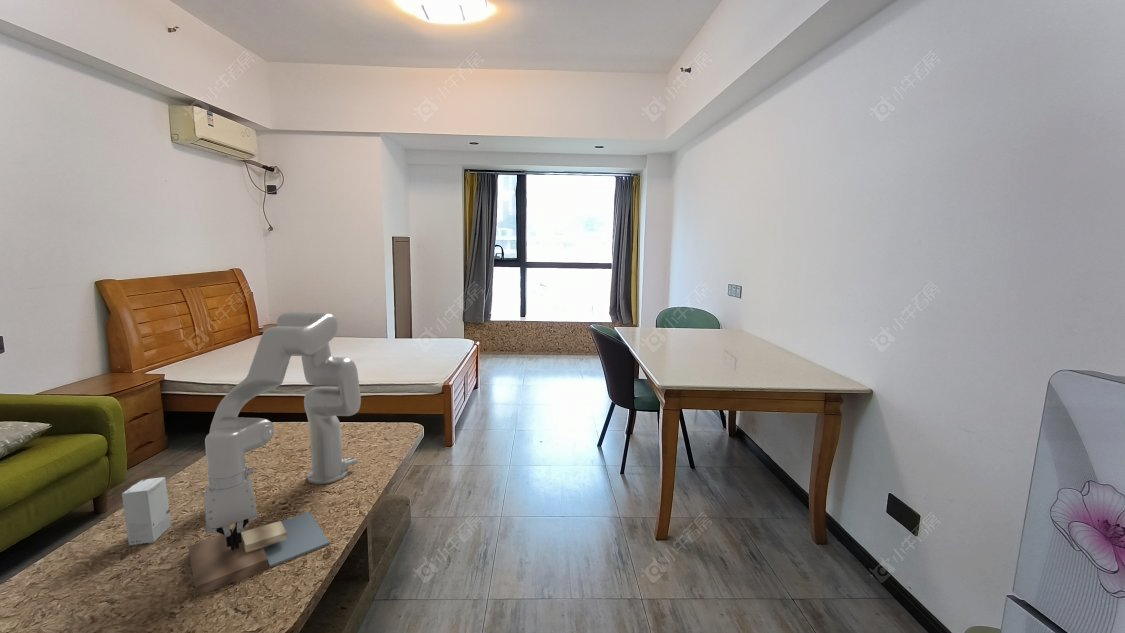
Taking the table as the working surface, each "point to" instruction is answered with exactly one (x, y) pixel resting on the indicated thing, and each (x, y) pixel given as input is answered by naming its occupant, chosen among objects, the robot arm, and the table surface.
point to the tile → (263, 536)
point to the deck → (223, 563)
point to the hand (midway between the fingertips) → (234, 546)
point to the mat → (296, 539)
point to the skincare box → (146, 510)
